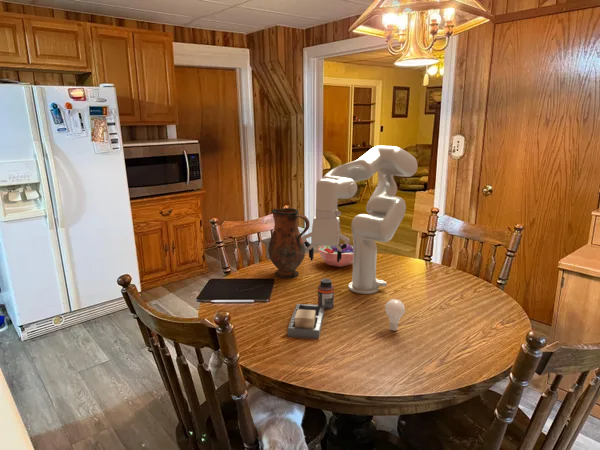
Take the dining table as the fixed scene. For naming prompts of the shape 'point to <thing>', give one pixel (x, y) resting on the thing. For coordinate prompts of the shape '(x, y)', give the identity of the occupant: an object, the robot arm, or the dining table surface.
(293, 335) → the tray
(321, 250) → the cell model
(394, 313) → the lightbulb
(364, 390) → the dining table surface
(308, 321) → the birch block
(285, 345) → the dining table surface
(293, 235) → the pitcher
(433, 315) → the dining table surface
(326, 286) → the supplement bottle
